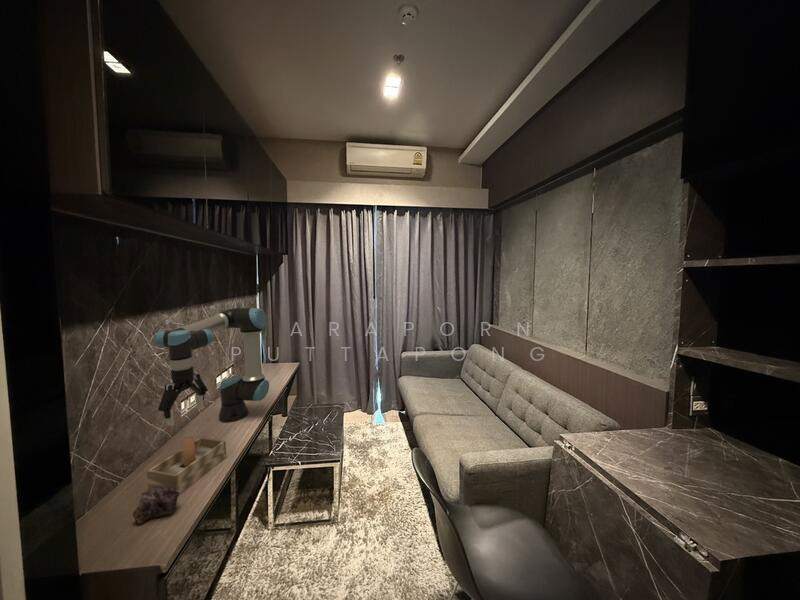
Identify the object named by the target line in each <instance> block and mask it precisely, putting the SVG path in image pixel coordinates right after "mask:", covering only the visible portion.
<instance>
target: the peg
mask: <svg viewBox="0 0 800 600" xmlns="http://www.w3.org/2000/svg"><path fill="white" fill-rule="evenodd" d="M194 441H195V437H194V436H187V437H184V438H183V439H182V440H181V449H182V450H183V462H184V468H185V467H187V466H188V465H190V464H191V463H192V462H194V461H195V460H196V458H195V445H194Z"/></svg>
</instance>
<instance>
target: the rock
mask: <svg viewBox="0 0 800 600" xmlns="http://www.w3.org/2000/svg"><path fill="white" fill-rule="evenodd" d="M179 495H180V494H179V493H178V492H177V491H176V490H175V489H174V488H173V487H170V486H169V485H164V486H155V487H152V488H151V489H147V490H145V492H142V493H141V496H140V498H139V501H138V503H137V506H136V509H135V510H134V511H133V512H132V517H133V519H134V520H136V521H137V524H143V523H146V522H147V521H149V520H151V519H153V518H160V517H161V516H167V515H172V514H174V512H175V511H176V509H177V504H178V503H177V502H178V497H179Z"/></svg>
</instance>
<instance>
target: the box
mask: <svg viewBox="0 0 800 600" xmlns="http://www.w3.org/2000/svg"><path fill="white" fill-rule="evenodd" d="M226 442H227V441H226V440H221V439H215V438H208V437H199V438H197V439H196V440H195V439H194V445H195V458H196V460H195V461H194V462H192V463H191V464H190V465H188V466H187V467H185V468H184V462H183V450H182V448H181V449H179V450H178V451H176V452H175V453H173V454H172V455H170V456H168V457H167V458H165V459H163V460H162V461H160V462H159V463H157V464H156V465H154V466H152V467H151V468H149V469H147V470H146V477H147V479H146V480H147V488H148V489H151V488H152V487H155V486H164V485H169V486H170V487H173V488H174V489H175V490H176V491H177V492H178V493H179V495H180V494H182V492H184V491H186V490H187V489H188V488H189V487H190V486H192V485H194V483H195V482H197V481H199V479H200V478H202V477H203V476H205V475H206V474H207V473H208V472H210V471H211V470H213V468H215V467H216V466H217V465H219V464H220V463H222V462H223V461H224V460H226V459H227V446H226V445H227V443H226ZM148 489H147V490H148Z"/></svg>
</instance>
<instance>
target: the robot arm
mask: <svg viewBox="0 0 800 600" xmlns="http://www.w3.org/2000/svg"><path fill="white" fill-rule="evenodd" d="M267 319H268V318H267V315H266V313H265V311H264V310H263V309H261V308H258V307H234V308H230V309H226V310H222V311H220V312H217V313H214V314H213V316H212V317H208V318H205V319H202V320H200V321H195V322H193V323H190V324H187V325H183V326H181V327H178V328H174V329H172V330H168V329H167V330H161V331H159V332H157V333H156V335H155V338H154V340H155V344H156V346H157V347H159V348H165V349H168V354H169V367H170V375H171V376H170V379H171V380H172V383H171V384H165V385H164V391H163V394H162V396H161V400H160V403H159V406H158V408H157V411H158V412H163V414H164V415H163V416H164V419H165V420H166V426H170V427H173V426H175V418H174V409H172V408H173V406H174V403H175V402H176V400H177V398H178V397H179V395H180V394H181V393H182V392H184V391H185V390H189V389H190V390H192V391H194V393H196V394H197V395H195V399H196V409H197V410H199V411H203V410H204V409H205V408H204V401H205V395H206V394H207V393H206V392H208V388H207V386H206V384H205V382H203V380H202V378H201V374H200V373H194V367H193V366H194V363H193V360H194V359H193V351H194V350H198V349H201V348H205V347H207V346H209V345H211V344H212V343H213V341H214V338H215V337H214V334H213V332H216V331H218V330H219V331H220V330H221V331H223V330H225V329H239V333H240V334H241V335H242V337H243V355H244V357H243V359H244V376H242V375H235V376H230V377H227V378H225V379H223V380H222V381H221V382H220V383H219V389H220V391H219V392H220V393H219V394H220V402H221V403H220V404H221V406H220V410H219V414H218V421H220V422H222V423H232V422H236V421H240V420H242V419H243V418H245V417H247V416H248V414H249V410H248V407H247V405H246V403H245V401H251V402H252V401H253V402H255V401H256V402H257V401H262V400H264V399H265V398H266V396H267V394H268V393H269V390H270V382H269V380H268V379H265V375H264V374H263V373H262V372H263V371H262V353H261V352H262V350H261V347H262V346H261V333H262V332H263V329H264V328H265V327H266V326H267V321H268V320H267Z"/></svg>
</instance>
